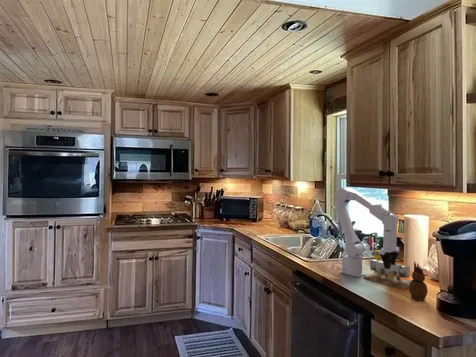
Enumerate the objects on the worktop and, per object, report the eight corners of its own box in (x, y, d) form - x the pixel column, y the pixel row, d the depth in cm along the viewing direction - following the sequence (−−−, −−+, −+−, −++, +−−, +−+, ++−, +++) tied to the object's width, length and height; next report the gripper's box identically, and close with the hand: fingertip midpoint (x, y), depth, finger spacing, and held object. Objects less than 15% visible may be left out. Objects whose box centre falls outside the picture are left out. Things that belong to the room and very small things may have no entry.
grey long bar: (368, 269, 172) (368, 260, 172) (373, 267, 174) (373, 258, 174) (406, 278, 157) (406, 268, 157) (411, 276, 159) (411, 266, 159)
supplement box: (374, 272, 182) (374, 251, 182) (379, 270, 186) (379, 249, 186) (385, 274, 178) (386, 253, 177) (390, 272, 182) (391, 251, 182)
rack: (363, 278, 170) (363, 266, 170) (375, 274, 177) (375, 263, 177) (403, 289, 154) (404, 276, 154) (415, 285, 161) (416, 272, 161)
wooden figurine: (406, 296, 145) (407, 260, 145) (419, 296, 146) (420, 260, 146) (415, 302, 139) (416, 264, 138) (429, 302, 139) (430, 264, 139)
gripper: (389, 242, 158) (389, 272, 158) (405, 239, 167) (405, 267, 167) (375, 239, 163) (374, 268, 163) (391, 236, 172) (390, 264, 172)
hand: (389, 267), depth 165 cm, fingers closed on grey long bar, 3 cm apart
